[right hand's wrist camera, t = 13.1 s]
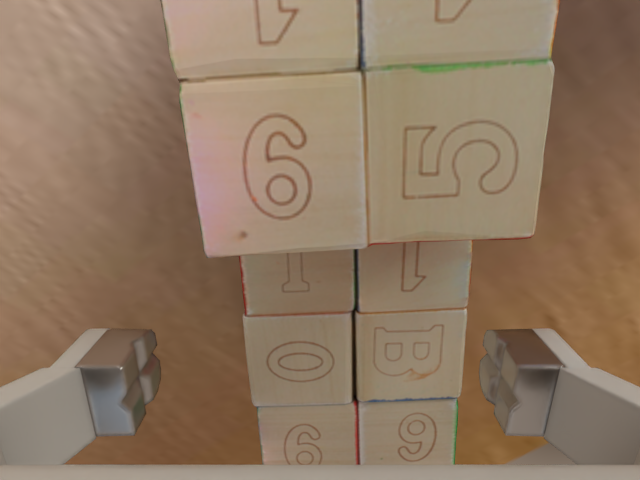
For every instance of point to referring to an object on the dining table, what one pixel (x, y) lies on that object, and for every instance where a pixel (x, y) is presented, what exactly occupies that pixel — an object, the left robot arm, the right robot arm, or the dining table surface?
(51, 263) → the dining table surface
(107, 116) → the dining table surface
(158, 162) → the dining table surface
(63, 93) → the dining table surface
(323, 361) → the stack of blocks
